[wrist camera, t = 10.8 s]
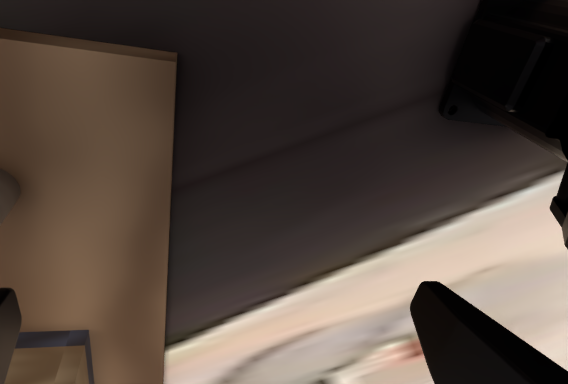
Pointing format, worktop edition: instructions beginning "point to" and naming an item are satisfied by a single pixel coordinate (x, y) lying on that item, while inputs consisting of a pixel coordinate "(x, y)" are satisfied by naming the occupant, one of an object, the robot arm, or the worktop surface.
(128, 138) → the pin board
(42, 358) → the sleeve
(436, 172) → the worktop surface
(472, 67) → the robot arm
